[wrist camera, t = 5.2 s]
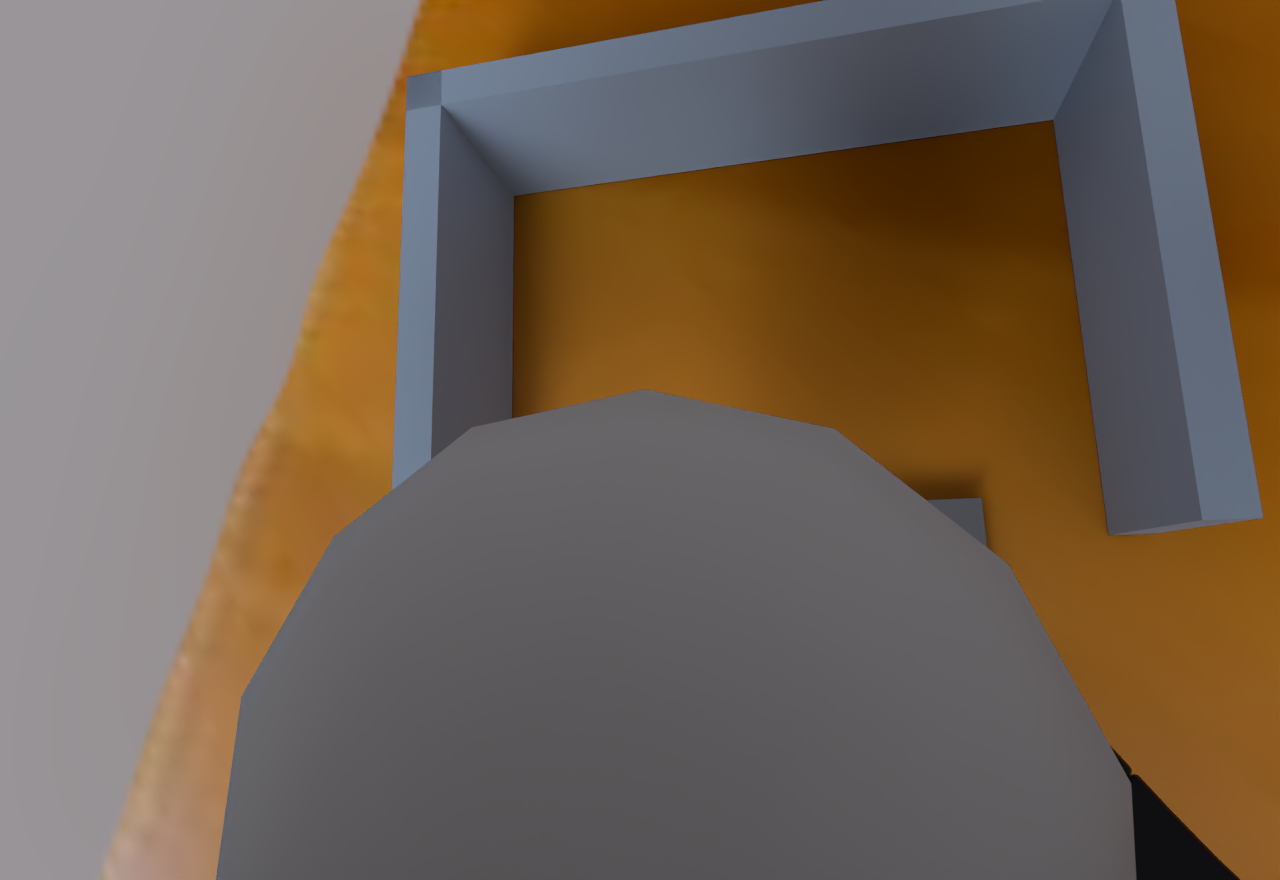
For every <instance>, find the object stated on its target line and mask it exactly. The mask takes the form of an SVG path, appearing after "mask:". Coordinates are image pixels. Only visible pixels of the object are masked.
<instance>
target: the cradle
mask: <svg viewBox="0 0 1280 880" xmlns="http://www.w3.org/2000/svg"><path fill="white" fill-rule="evenodd" d="M1048 120H1053V121H1054V129H1055V136H1056V144H1057V151H1058V159H1059V166H1060V174H1061V181H1062V189H1063V196H1064V204H1065V211H1066V219H1067V226H1068V234H1069V241H1070V249H1071V256H1072V264H1073V271H1074V279H1075V286H1076V294H1077V301H1078V309H1079V316H1080V324H1081V331H1082V339H1083V346H1084V354H1085V361H1086V369H1087V376H1088V384H1089V391H1090V399H1091V406H1092V414H1093V421H1094V429H1095V436H1096V444H1097V452H1098V459H1099V467H1100V474H1101V482H1102V489H1103V497H1104V504H1105V512H1106V519H1107V527H1108V534H1109V535H1131V534H1155V533H1162V532H1169V531H1176V530H1183V529H1190V528H1197V527H1204V526H1211V525H1218V524H1225V523H1232V522H1239V521H1246V520H1253V519H1261V518H1263V514H1262V508H1261V502H1260V496H1259V490H1258V484H1257V479H1256V473H1255V467H1254V461H1253V455H1252V449H1251V443H1250V438H1249V432H1248V426H1247V420H1246V414H1245V408H1244V402H1243V396H1242V391H1241V385H1240V379H1239V373H1238V367H1237V361H1236V355H1235V350H1234V344H1233V338H1232V332H1231V326H1230V320H1229V314H1228V308H1227V303H1226V297H1225V291H1224V285H1223V279H1222V273H1221V267H1220V262H1219V256H1218V250H1217V244H1216V238H1215V232H1214V226H1213V221H1212V215H1211V209H1210V203H1209V197H1208V191H1207V185H1206V179H1205V174H1204V168H1203V162H1202V156H1201V150H1200V144H1199V138H1198V133H1197V127H1196V121H1195V115H1194V109H1193V103H1192V97H1191V91H1190V86H1189V80H1188V74H1187V68H1186V62H1185V56H1184V50H1183V45H1182V39H1181V33H1180V27H1179V21H1178V15H1177V9H1176V3H1175V0H824V1H819V2H813V3H808V4H802V5H797V6H791V7H786V8H780V9H775V10H769V11H764V12H759V13H753V14H748V15H742V16H737V17H731V18H726V19H720V20H715V21H709V22H704V23H698V24H693V25H688V26H682V27H677V28H671V29H666V30H660V31H655V32H649V33H644V34H638V35H633V36H627V37H622V38H617V39H611V40H606V41H600V42H595V43H589V44H584V45H578V46H573V47H567V48H562V49H556V50H551V51H546V52H540V53H535V54H529V55H524V56H518V57H513V58H507V59H502V60H496V61H491V62H485V63H480V64H475V65H469V66H464V67H458V68H453V69H447V70H442V71H436V72H431V73H425V74H420V75H414V76H409V77H407V102H406V129H405V156H404V183H403V210H402V237H401V263H400V290H399V317H398V344H397V371H396V398H395V425H394V452H393V479H392V490H393V489H395V488H396V487H397V486H398V485H400V484H401V483H402V482H404V481H405V480H406V479H407V478H409V477H410V476H411V475H412V474H414V473H415V472H416V471H417V470H419V469H420V468H421V467H422V466H424V465H425V464H426V463H428V462H429V461H430V460H431V459H433V458H434V457H435V456H436V455H438V454H439V453H440V452H441V451H443V450H444V449H445V448H446V447H448V446H449V445H450V444H451V443H453V442H454V441H455V440H457V439H458V438H459V437H460V436H462V435H463V434H464V433H465V432H467V431H468V430H469V429H470V428H472V427H476V426H481V425H485V424H490V423H494V422H499V421H504V420H508V419H512V381H513V264H514V196H517V195H524V194H531V193H538V192H545V191H552V190H559V189H566V188H573V187H580V186H587V185H594V184H602V183H609V182H616V181H623V180H630V179H637V178H644V177H651V176H658V175H665V174H672V173H680V172H687V171H694V170H701V169H708V168H715V167H722V166H729V165H736V164H743V163H750V162H757V161H765V160H772V159H779V158H786V157H793V156H800V155H807V154H814V153H821V152H828V151H835V150H842V149H850V148H857V147H864V146H871V145H878V144H885V143H892V142H899V141H906V140H913V139H920V138H928V137H935V136H942V135H949V134H956V133H963V132H970V131H977V130H984V129H991V128H998V127H1005V126H1013V125H1020V124H1027V123H1034V122H1041V121H1048Z"/></svg>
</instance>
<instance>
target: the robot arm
mask: <svg viewBox="0 0 1280 880" xmlns="http://www.w3.org/2000/svg"><path fill="white" fill-rule="evenodd" d="M1110 747H1111V746H1110ZM1111 748H1112V747H1111ZM1112 750H1113V752H1114V754H1115V756H1116V757H1117V759H1118V761H1119V763H1120V764H1121V766H1122V768H1123V770H1124V772H1125V773H1126V775H1127V777H1128V779H1129V781H1130V782H1131V789H1132V807H1133V826H1134V844H1135V862H1136V880H1240V879H1239V878H1238V877H1237V876H1236V875H1235V874H1234V873H1233V872H1232V871H1231V870H1230V869H1229V868H1227V867H1226V866H1225V865H1224V864H1223V863H1222V862H1221V861H1220V860H1219V859H1218V858H1217V857H1216V856H1215V855H1214V854H1213V853H1212V852H1211V851H1210V850H1209V849H1208V848H1207V847H1206V846H1205V845H1204V844H1203V843H1202V842H1201V841H1200V840H1199V839H1198V838H1197V837H1196V836H1195V834H1194V833H1193V832H1192V831H1191V830H1190V829H1189V828H1188V827H1187V826H1186V825H1185V824H1184V823H1183V822H1182V821H1181V820H1180V819H1179V818H1178V817H1177V816H1176V815H1175V814H1174V813H1173V812H1172V811H1171V810H1170V809H1169V808H1168V807H1167V806H1166V805H1165V804H1164V803H1163V801H1162V800H1161V799H1160V798H1159V797H1158V796H1157V795H1156V794H1155V793H1154V792H1153V791H1152V789H1151V788H1150V787H1149V786H1148V785H1147V784H1146V783H1145V782H1144V781H1143V780H1142V779H1141V777H1139V776H1138V775H1135V774H1133V775H1131V773H1132V770H1131V768H1130V766H1129V765H1128V764H1127V763H1126V762H1125V761H1124V760H1123V759H1122V758H1121V757H1120V755H1119V754H1118V753H1117V752H1116V751H1115V750H1114V749H1113V748H1112Z"/></svg>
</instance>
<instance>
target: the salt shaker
mask: <svg viewBox="0 0 1280 880" xmlns="http://www.w3.org/2000/svg"><path fill="white" fill-rule="evenodd" d="M216 880H1136V862H1135V844H1134V826H1133V807H1132V789H1131V782H1130V781H1129V779H1128V777H1127V775H1126V773H1125V772H1124V770H1123V768H1122V766H1121V764H1120V763H1119V761H1118V759H1117V757H1116V756H1115V754H1114V752H1113V750H1112V748H1111V747H1110V745H1109V743H1108V741H1107V739H1106V738H1105V736H1104V734H1103V732H1102V731H1101V729H1100V727H1099V725H1098V723H1097V722H1096V720H1095V718H1094V716H1093V714H1092V713H1091V711H1090V709H1089V707H1088V706H1087V704H1086V702H1085V700H1084V698H1083V697H1082V695H1081V693H1080V691H1079V689H1078V688H1077V686H1076V684H1075V682H1074V681H1073V679H1072V677H1071V675H1070V673H1069V672H1068V670H1067V668H1066V666H1065V664H1064V663H1063V661H1062V659H1061V657H1060V656H1059V654H1058V652H1057V650H1056V648H1055V647H1054V645H1053V643H1052V641H1051V639H1050V638H1049V636H1048V634H1047V632H1046V631H1045V629H1044V627H1043V625H1042V623H1041V622H1040V620H1039V618H1038V616H1037V614H1036V613H1035V611H1034V609H1033V607H1032V606H1031V604H1030V602H1029V600H1028V598H1027V597H1026V595H1025V593H1024V591H1023V589H1022V588H1021V586H1020V584H1019V582H1018V581H1017V579H1016V577H1015V575H1014V573H1013V572H1012V570H1011V568H1010V566H1009V564H1007V563H1006V562H1005V561H1004V560H1002V559H1001V558H1000V557H998V556H997V555H996V554H995V553H993V552H992V551H991V550H990V549H988V548H987V547H986V546H984V545H983V544H982V543H981V542H979V541H978V540H977V539H975V538H974V537H973V536H972V535H970V534H969V533H968V532H966V531H965V530H964V529H963V528H961V527H960V526H959V525H957V524H956V523H955V522H954V521H952V520H951V519H950V518H948V517H947V516H946V515H945V514H943V513H942V512H941V511H939V510H938V509H937V508H936V507H934V506H933V505H932V504H930V503H929V502H928V501H927V500H925V499H924V498H923V497H921V496H920V495H919V494H918V493H916V492H915V491H914V490H912V489H911V488H910V487H909V486H907V485H906V484H905V483H904V482H902V481H901V480H900V479H898V478H897V477H896V476H895V475H893V474H892V473H891V472H889V471H888V470H887V469H886V468H884V467H883V466H882V465H880V464H879V463H878V462H877V461H875V460H874V459H873V458H871V457H870V456H869V455H868V454H866V453H865V452H864V451H862V450H861V449H860V448H859V447H857V446H856V445H855V444H853V443H852V442H851V441H850V440H848V439H847V438H846V437H844V436H843V435H842V434H841V433H839V432H838V431H837V430H835V429H833V428H829V427H824V426H819V425H814V424H809V423H805V422H800V421H795V420H790V419H785V418H781V417H776V416H771V415H766V414H761V413H756V412H752V411H747V410H742V409H737V408H732V407H728V406H723V405H718V404H713V403H708V402H703V401H699V400H694V399H689V398H684V397H679V396H675V395H670V394H665V393H660V392H655V391H650V390H646V389H644V390H640V391H635V392H631V393H626V394H622V395H617V396H613V397H608V398H604V399H599V400H594V401H590V402H585V403H581V404H576V405H572V406H567V407H563V408H558V409H554V410H549V411H544V412H540V413H535V414H531V415H526V416H522V417H517V418H513V419H508V420H504V421H499V422H494V423H490V424H485V425H481V426H476V427H472V428H470V429H469V430H468V431H467V432H465V433H464V434H463V435H462V436H460V437H459V438H458V439H457V440H455V441H454V442H453V443H451V444H450V445H449V446H448V447H446V448H445V449H444V450H443V451H441V452H440V453H439V454H438V455H436V456H435V457H434V458H433V459H431V460H430V461H429V462H428V463H426V464H425V465H424V466H422V467H421V468H420V469H419V470H417V471H416V472H415V473H414V474H412V475H411V476H410V477H409V478H407V479H406V480H405V481H404V482H402V483H401V484H400V485H398V486H397V487H396V488H395V489H393V490H392V491H391V492H390V493H388V494H387V495H386V496H385V497H383V498H382V499H381V500H380V501H378V502H377V503H376V504H375V505H373V506H372V507H371V508H369V509H368V510H367V511H366V512H364V513H363V514H362V515H361V516H359V517H358V518H357V519H356V520H354V521H353V522H352V523H351V524H349V525H348V526H347V527H346V528H344V529H343V530H342V531H340V532H339V533H338V534H337V535H335V536H334V537H333V539H332V541H331V542H330V544H329V546H328V548H327V549H326V551H325V553H324V555H323V556H322V558H321V560H320V561H319V563H318V565H317V567H316V568H315V570H314V572H313V574H312V575H311V577H310V579H309V581H308V582H307V584H306V586H305V587H304V589H303V591H302V593H301V594H300V596H299V598H298V600H297V601H296V603H295V605H294V607H293V608H292V610H291V612H290V613H289V615H288V617H287V619H286V620H285V622H284V624H283V626H282V627H281V629H280V631H279V632H278V634H277V636H276V638H275V639H274V641H273V643H272V645H271V646H270V648H269V650H268V652H267V653H266V655H265V657H264V658H263V660H262V662H261V664H260V665H259V667H258V669H257V671H256V672H255V674H254V676H253V677H252V679H251V681H250V683H249V684H248V686H247V688H246V690H245V691H244V693H243V695H242V697H241V704H240V711H239V718H238V725H237V732H236V740H235V747H234V754H233V761H232V768H231V775H230V783H229V790H228V797H227V804H226V811H225V819H224V826H223V833H222V840H221V847H220V854H219V862H218V869H217V876H216Z"/></svg>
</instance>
